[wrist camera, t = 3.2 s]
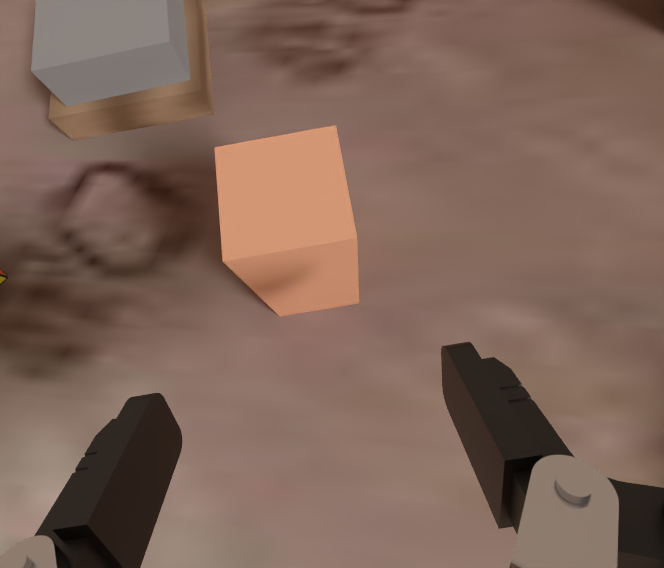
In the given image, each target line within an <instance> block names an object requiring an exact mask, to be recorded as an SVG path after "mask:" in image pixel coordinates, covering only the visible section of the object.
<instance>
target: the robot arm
mask: <svg viewBox="0 0 664 568" xmlns="http://www.w3.org/2000/svg"><path fill="white" fill-rule="evenodd" d="M441 359H442V387H443V394H444V399H445V403H446V406H447V409H448V411H449V413H450V416H451V418H452V420H453V423H454V425H455V427H456V430H457V432H458V434H459V437H460V439H461V441H462V444H463V446H464V448H465V451H466V453H467V455H468V458H469V460H470V462H471V465H472V467H473V469H474V472H475V474H476V476H477V479H478V481H479V483H480V486H481V488H482V490H483V493H484V495H485V497H486V500H487V502H488V504H489V507H490V509H491V511H492V513H493V516H494V518H495V520H496V523H497V525H498V527H499V529H500V528H507V527H514V529H515V531H516V533H517V538H516V543H515V547H514V552H513V556H512V560H511V564H510V568H664V488H661V487H654V486H647V485H640V484H633V483H626V482H621V481H617V480H613V479H610V478H607V477H606V476H605V475H604V474H603V473H601V472H600V471H599V470H598V469H596V468H595V467H594V466H592V465H591V464H589V463H587V462H585V461H583V460H580V459H578V458H575V457H574V456H573V455H572V453H571V452H570V451H569V450H568V448H567V447H566V445H565V444H564V443H563V441H562V440H561V438H560V437H559V436H558V434H557V433H556V431H555V430H554V429H553V427H552V426H551V424H550V423H549V422H548V420H547V419H546V417H545V416H544V415H543V413H542V412H541V410H540V409H539V408H538V406H537V405H536V403H535V402H534V401H533V400H531V396H530V395H529V394H528V392H527V391H526V389H525V388H524V387H522V384H521V382H520V381H519V380H518V378H517V377H516V375H515V374H514V373H513V371H512V370H511V369H510V368H509V367H507V366H506V365H504V364H503V363H502V362H500V361H499V360H497V359H496V358H494V357H492V358H486V359H481V357H480V356H479V354H478V352H477V351H476V349H475V348H474V346H473V345H472V344H471V343H470V342H465V343H459V344H453V345H447V346H442V349H441ZM181 449H182V434H181V430H180V428H179V426H178V424H177V422H176V420H175V418H174V416H173V414H172V412H171V410H170V408H169V406H168V404H167V403H166V401H165V399H164V397H163V396H162V395H161V394H160V393H153V394H147V395H141V396H135V397H131V398H129V399H128V400H127V402H126V403H125V405H124V406H123V408H122V410H121V412H120V413H119V415H118V417H117V419H112V420H111V421H110V422H109V423H108V424H107V425H106V426H105V427H104V428H103V429H102V430H101V431H100V432H99V433H98V434H97V435H96V436H95V438H94V439H93V441H92V443H91V444H90V446H89V448H88V449H87V451H86V453H85V457H83V458H82V459H81V461H80V462H79V464H78V466H77V467H76V472H75V473H73V474H72V475H71V477H70V479H69V480H68V482H67V484H66V485H65V487H64V489H63V490H62V492H61V493H60V495H59V497H58V498H57V500H56V502H55V503H54V505H53V507H52V508H51V510H50V511H49V513H48V515H47V516H46V518H45V520H44V521H43V523H42V525H41V526H40V528H39V529H38V531H37V533H36V534H35V536H33V537H30V538H27V539H25V540H23V541H21V542H19V543H17V544H16V545H14V546H13V547H11V548H10V549H8V550H7V551H6V552H4V553H3V554H2V555H1V556H0V568H140V566H141V564H142V561H143V558H144V555H145V552H146V549H147V547H148V544H149V541H150V538H151V535H152V532H153V529H154V527H155V524H156V521H157V518H158V515H159V512H160V510H161V507H162V504H163V501H164V498H165V495H166V492H167V490H168V487H169V484H170V481H171V478H172V475H173V473H174V470H175V467H176V464H177V461H178V458H179V455H180V453H181Z"/></svg>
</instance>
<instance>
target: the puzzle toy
mask: <svg viewBox="0 0 664 568" xmlns="http://www.w3.org/2000/svg"><path fill="white" fill-rule="evenodd" d="M7 278H8V277H7V275H6V274H5V273H4V272H3V271H2V270H1V269H0V284H2V283H3V282H4V281H5V280H6V279H7Z"/></svg>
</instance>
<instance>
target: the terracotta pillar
mask: <svg viewBox="0 0 664 568" xmlns="http://www.w3.org/2000/svg"><path fill="white" fill-rule="evenodd" d="M214 148H215V162H216V176H217V190H218V204H219V218H220V232H221V246H222V260H223V262H224V263H225V264H226V265H227V266H228V267H229V268H230V269H231V270H232V271H233V272H234V273H235V274H236V275H237V276H238V277H239V278H240V279H241V280H242V281H244V282H245V283H246V284H247V285H248V286H249V287H250V288H251V289H252V290H253V291H254V292H255V293H256V294H257V295H258V296H259V297H260V298H261V299H262V300H263V301H264V302H265V303H266V304H267V305H268V306H270V307H271V308H272V309H273V310H274V311H275V312H276V313H277V314H278V315H279V316H285V315H291V314H297V313H303V312H309V311H315V310H321V309H327V308H333V307H339V306H345V305H351V304H356V303H359V284H358V249H357V235H356V229H355V224H354V219H353V213H352V208H351V203H350V198H349V192H348V187H347V182H346V177H345V171H344V166H343V161H342V155H341V150H340V145H339V140H338V134H337V129H336V125H335V126H329V127H324V128H318V129H313V130H307V131H302V132H296V133H291V134H286V135H280V136H275V137H269V138H264V139H258V140H253V141H247V142H242V143H236V144H231V145H225V146H220V147H214Z"/></svg>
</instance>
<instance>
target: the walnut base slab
mask: <svg viewBox="0 0 664 568" xmlns="http://www.w3.org/2000/svg"><path fill="white" fill-rule="evenodd" d="M183 5H184V16H185V26H186V37H187V47H188V58H189V69H190V79H191V80H189V81H184V82H179V83H175V84H170V85H165V86H161V87H156V88H151V89H147V90H142V91H137V92H133V93H128V94H123V95H119V96H114V97H109V98H105V99H100V100H95V101H91V102H86V103H81V104H77V105H72V106H66V105H65V104H64V103H63V102H62V101H61V100H60V99H59V98H58V97H57V96H56V95H54V94H53V93H52V92H51V95H50V106H49V117H48V119H49V120H51V121H52V122H53V123H54V124H55V125H56V126H57V127H58V128H60V129H61V130H62V131H63V132H64V133H65V134H66V135H68V136H69V137H70V138H71V139H72V140H77V139H82V138H88V137H93V136H99V135H104V134H110V133H115V132H120V131H126V130H131V129H137V128H142V127H147V126H153V125H158V124H164V123H169V122H174V121H180V120H185V119H191V118H196V117H202V116H207V115H212V114H214V113H213V99H212V85H211V71H210V57H209V43H208V29H207V14H206V7H205V4H204V2H203V0H183Z"/></svg>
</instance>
